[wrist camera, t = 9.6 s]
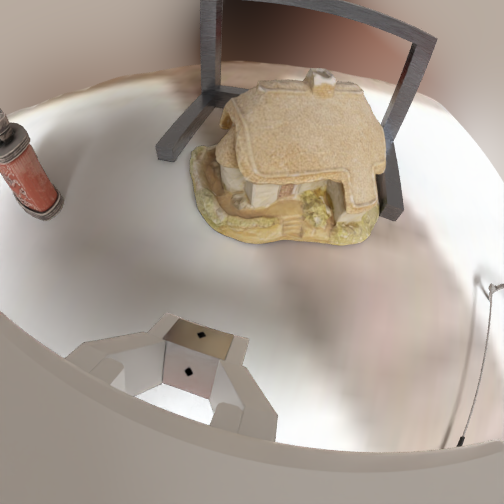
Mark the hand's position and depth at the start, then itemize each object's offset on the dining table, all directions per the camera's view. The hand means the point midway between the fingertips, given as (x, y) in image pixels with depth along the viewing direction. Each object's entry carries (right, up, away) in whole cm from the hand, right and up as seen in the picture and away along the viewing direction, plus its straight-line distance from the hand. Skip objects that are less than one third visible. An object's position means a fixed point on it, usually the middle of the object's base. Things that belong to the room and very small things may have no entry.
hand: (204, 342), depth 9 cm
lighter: (-18, +8, +10) cm, 22 cm away
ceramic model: (+4, +7, +11) cm, 14 cm away
